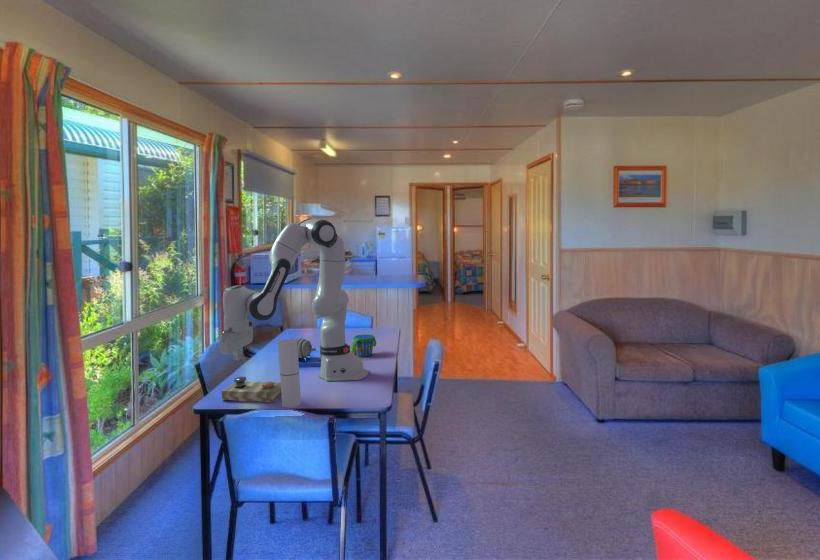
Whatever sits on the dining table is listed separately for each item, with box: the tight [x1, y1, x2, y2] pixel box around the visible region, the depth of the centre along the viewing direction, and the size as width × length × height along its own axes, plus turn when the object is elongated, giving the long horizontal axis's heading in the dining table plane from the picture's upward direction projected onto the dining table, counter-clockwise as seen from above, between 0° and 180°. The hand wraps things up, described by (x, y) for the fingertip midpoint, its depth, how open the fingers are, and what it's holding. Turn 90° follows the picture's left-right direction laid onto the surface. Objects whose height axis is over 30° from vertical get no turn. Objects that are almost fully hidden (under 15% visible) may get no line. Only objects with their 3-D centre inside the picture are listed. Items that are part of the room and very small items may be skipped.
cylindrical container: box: [277, 338, 302, 408], centre depth 196 cm, size 7×7×25 cm
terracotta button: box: [262, 381, 275, 389], centre depth 206 cm, size 5×5×4 cm
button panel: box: [221, 381, 282, 403], centre depth 207 cm, size 22×12×4 cm, turn 79°
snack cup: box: [351, 333, 377, 358], centre depth 263 cm, size 16×10×10 cm
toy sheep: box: [295, 338, 317, 359], centre depth 259 cm, size 11×17×11 cm, turn 76°
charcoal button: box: [233, 376, 247, 388], centre depth 208 cm, size 5×5×4 cm
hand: (237, 359), depth 207 cm, fingers closed
